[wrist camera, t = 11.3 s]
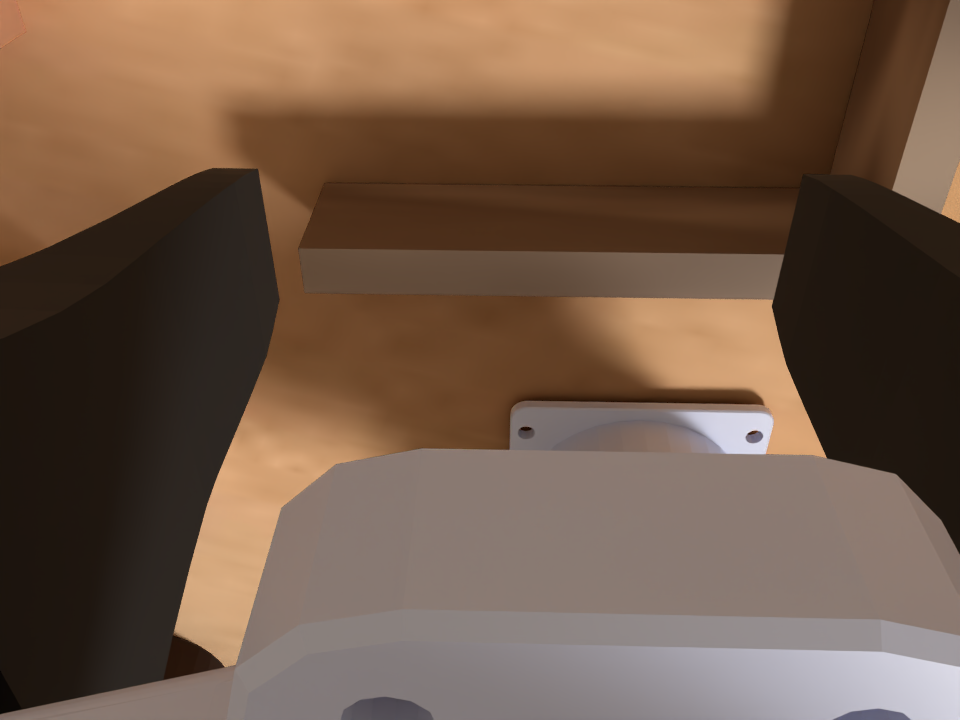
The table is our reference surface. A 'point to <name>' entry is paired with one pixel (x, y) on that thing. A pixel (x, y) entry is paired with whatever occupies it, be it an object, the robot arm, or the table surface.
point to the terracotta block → (10, 22)
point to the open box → (647, 201)
